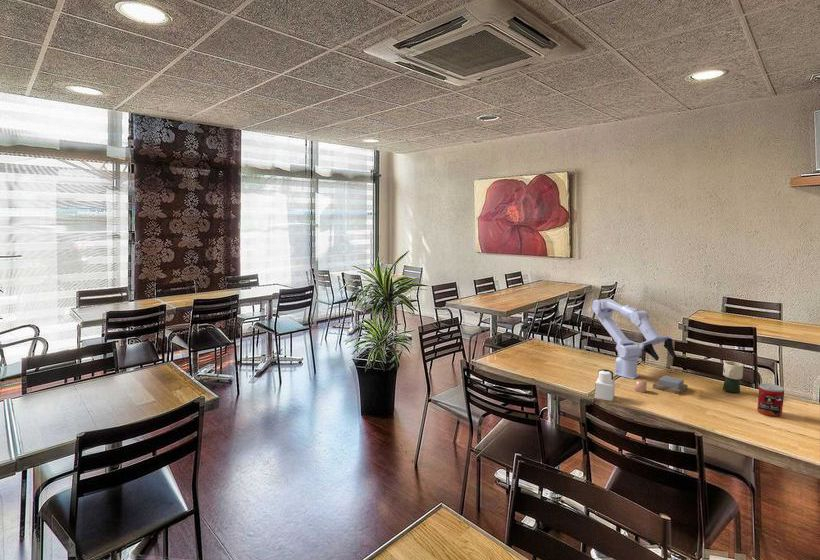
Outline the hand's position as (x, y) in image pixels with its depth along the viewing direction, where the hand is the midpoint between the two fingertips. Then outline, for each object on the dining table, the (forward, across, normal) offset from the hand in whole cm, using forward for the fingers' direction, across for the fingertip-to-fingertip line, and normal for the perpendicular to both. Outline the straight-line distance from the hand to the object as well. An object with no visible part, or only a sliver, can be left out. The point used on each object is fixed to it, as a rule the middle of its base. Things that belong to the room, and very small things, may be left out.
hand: (665, 357), depth 197 cm
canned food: (+34, +22, -2) cm, 40 cm away
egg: (+8, -14, +10) cm, 19 cm away
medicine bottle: (+9, -33, +3) cm, 34 cm away
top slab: (+8, +2, +12) cm, 15 cm away
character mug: (+17, +26, +14) cm, 34 cm away
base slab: (+10, +1, +14) cm, 17 cm away
